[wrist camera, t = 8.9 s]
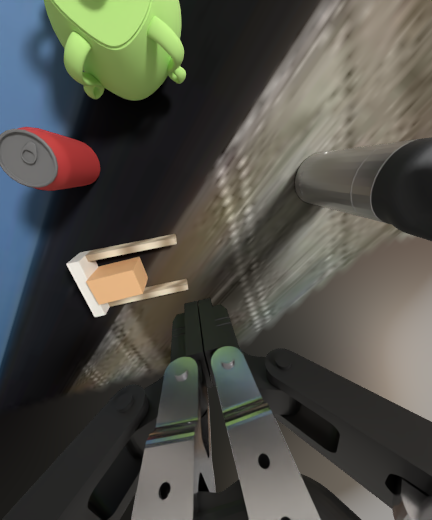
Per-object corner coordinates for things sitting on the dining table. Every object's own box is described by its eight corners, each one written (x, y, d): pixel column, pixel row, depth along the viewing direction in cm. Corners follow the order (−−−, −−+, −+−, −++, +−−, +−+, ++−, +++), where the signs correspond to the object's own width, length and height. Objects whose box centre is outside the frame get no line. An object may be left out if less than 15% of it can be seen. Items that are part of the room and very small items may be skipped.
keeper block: (139, 256, 40) (132, 270, 34) (147, 277, 42) (143, 293, 36) (98, 266, 39) (85, 281, 34) (109, 287, 41) (98, 304, 36)
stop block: (90, 250, 38) (78, 261, 33) (113, 299, 42) (105, 314, 38) (79, 252, 37) (66, 263, 33) (103, 301, 42) (94, 317, 38)
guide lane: (175, 233, 39) (174, 237, 37) (187, 283, 44) (188, 289, 41) (90, 250, 38) (85, 255, 35) (113, 299, 42) (109, 306, 40)
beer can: (107, 156, 32) (70, 149, 21) (93, 193, 34) (51, 203, 23) (62, 129, 30) (-5, 106, 19) (49, 170, 32) (-19, 170, 21)
